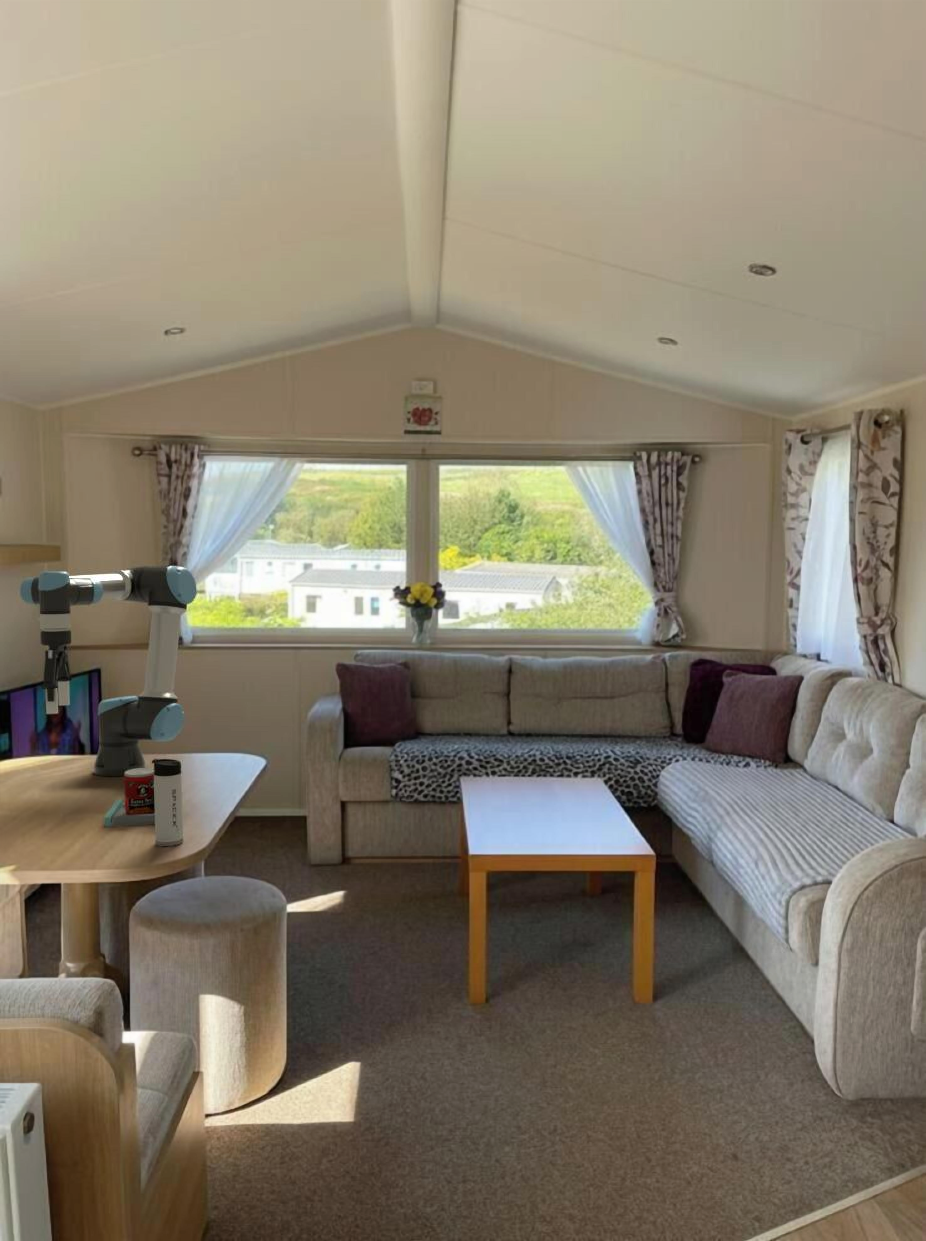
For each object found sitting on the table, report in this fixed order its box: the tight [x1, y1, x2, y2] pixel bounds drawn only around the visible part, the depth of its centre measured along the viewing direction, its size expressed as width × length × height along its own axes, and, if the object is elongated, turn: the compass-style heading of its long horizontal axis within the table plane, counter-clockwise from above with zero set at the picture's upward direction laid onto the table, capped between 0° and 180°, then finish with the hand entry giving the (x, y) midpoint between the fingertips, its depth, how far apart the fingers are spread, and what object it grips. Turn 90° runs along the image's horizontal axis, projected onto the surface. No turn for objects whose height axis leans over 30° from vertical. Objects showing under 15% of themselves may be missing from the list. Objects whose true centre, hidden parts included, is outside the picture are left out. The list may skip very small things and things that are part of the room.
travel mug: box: [151, 758, 184, 847], centre depth 226 cm, size 6×7×20 cm
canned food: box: [123, 767, 155, 815], centre depth 250 cm, size 8×8×11 cm
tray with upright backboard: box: [103, 798, 155, 827], centre depth 250 cm, size 18×15×10 cm
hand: (58, 709), depth 256 cm, fingers open, 13 cm apart
